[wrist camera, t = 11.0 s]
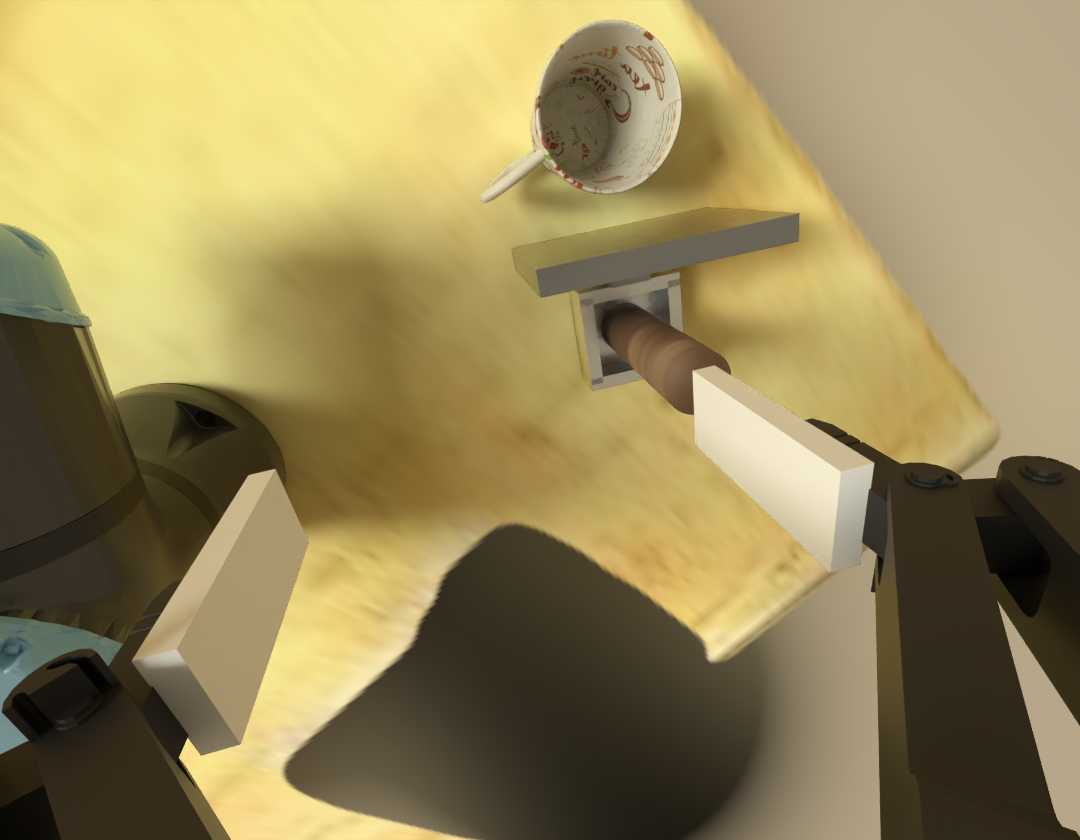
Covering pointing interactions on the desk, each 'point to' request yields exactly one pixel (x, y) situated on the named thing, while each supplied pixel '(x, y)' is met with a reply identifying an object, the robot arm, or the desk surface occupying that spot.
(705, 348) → the handle
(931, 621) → the robot arm
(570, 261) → the bracket
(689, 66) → the desk surface
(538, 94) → the mug
